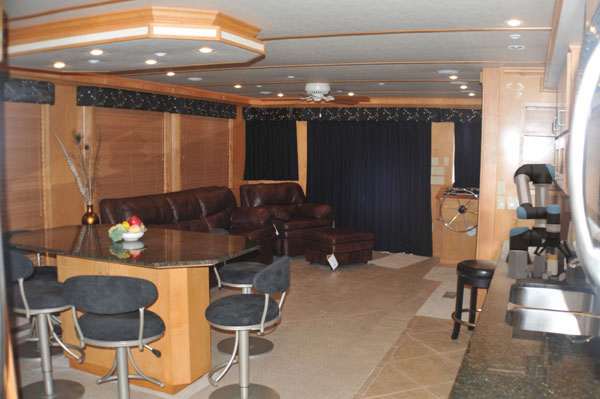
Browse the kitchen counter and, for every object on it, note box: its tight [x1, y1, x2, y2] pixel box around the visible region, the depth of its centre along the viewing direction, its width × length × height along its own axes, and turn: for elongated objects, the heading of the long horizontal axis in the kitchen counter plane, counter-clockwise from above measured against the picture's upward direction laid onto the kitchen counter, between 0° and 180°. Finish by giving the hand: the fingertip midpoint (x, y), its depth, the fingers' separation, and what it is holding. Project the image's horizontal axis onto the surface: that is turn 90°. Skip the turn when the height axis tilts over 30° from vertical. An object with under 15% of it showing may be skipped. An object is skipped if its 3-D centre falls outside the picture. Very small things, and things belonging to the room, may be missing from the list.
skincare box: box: [507, 249, 528, 280], centre depth 299 cm, size 8×7×16 cm
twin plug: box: [533, 252, 545, 279], centre depth 300 cm, size 4×4×14 cm
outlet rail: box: [528, 269, 566, 282], centre depth 298 cm, size 9×17×4 cm, turn 53°
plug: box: [546, 251, 559, 276], centre depth 308 cm, size 4×4×14 cm
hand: (552, 267), depth 308 cm, fingers open, 13 cm apart
